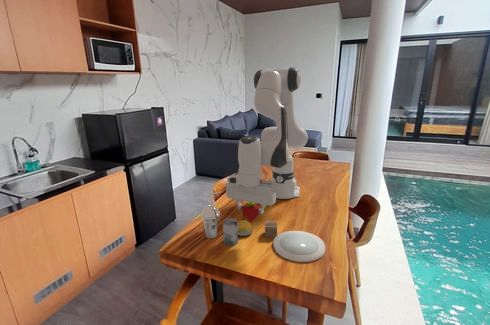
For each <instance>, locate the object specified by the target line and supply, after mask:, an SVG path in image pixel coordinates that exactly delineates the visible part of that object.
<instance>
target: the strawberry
mask: <svg viewBox="0 0 490 325" xmlns="http://www.w3.org/2000/svg"><path fill="white" fill-rule="evenodd" d="M260 208H261V207H260V206H258V204H256V203H252V202H245V203H244V204H243V207H242V210H241V212H242V215H243V217H245V219H246V221H248V222H249V223H253V222H254V221H255V220H256V219H257V218H258V216H259V215H260V214H259V209H260Z"/></svg>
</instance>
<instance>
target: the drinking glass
mask: <svg viewBox="0 0 490 325" xmlns="http://www.w3.org/2000/svg"><path fill="white" fill-rule="evenodd" d="M222 232H223V234H222V236H223V237H222V238H223V245H225V246H226V247H234V246H236V245H238V243H239V235H238V219H237V218H233V217H228V218H225V219H224V220H223V221H222Z"/></svg>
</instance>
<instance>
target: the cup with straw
mask: <svg viewBox="0 0 490 325" xmlns="http://www.w3.org/2000/svg"><path fill="white" fill-rule="evenodd" d="M222 193H223V192H222V190H221V191H220V190H219V191H215V192H211V193H208V198H207V199H208V204H207V205H205V206H204V207H203V208H202V210H201V212H200V213H199V217H200V218H201V219H202V221H203V222H202V223H203V227H204V231H205V232H204V233H205V236H206V238H208V239H214V238H216V237H217V234H218V223H219V217H220V216H221V211H220V209H219V208H218V207H217V206H215V205H213V204H211V196H213V195H217V194H222Z"/></svg>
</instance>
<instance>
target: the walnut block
mask: <svg viewBox="0 0 490 325" xmlns="http://www.w3.org/2000/svg"><path fill="white" fill-rule="evenodd" d="M277 235H278V221H272V220H271V221H268V220H267V221H266V220H265V223H264V238H266V239H267V238H271V239H274V238H275V237H276V236H277Z"/></svg>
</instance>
